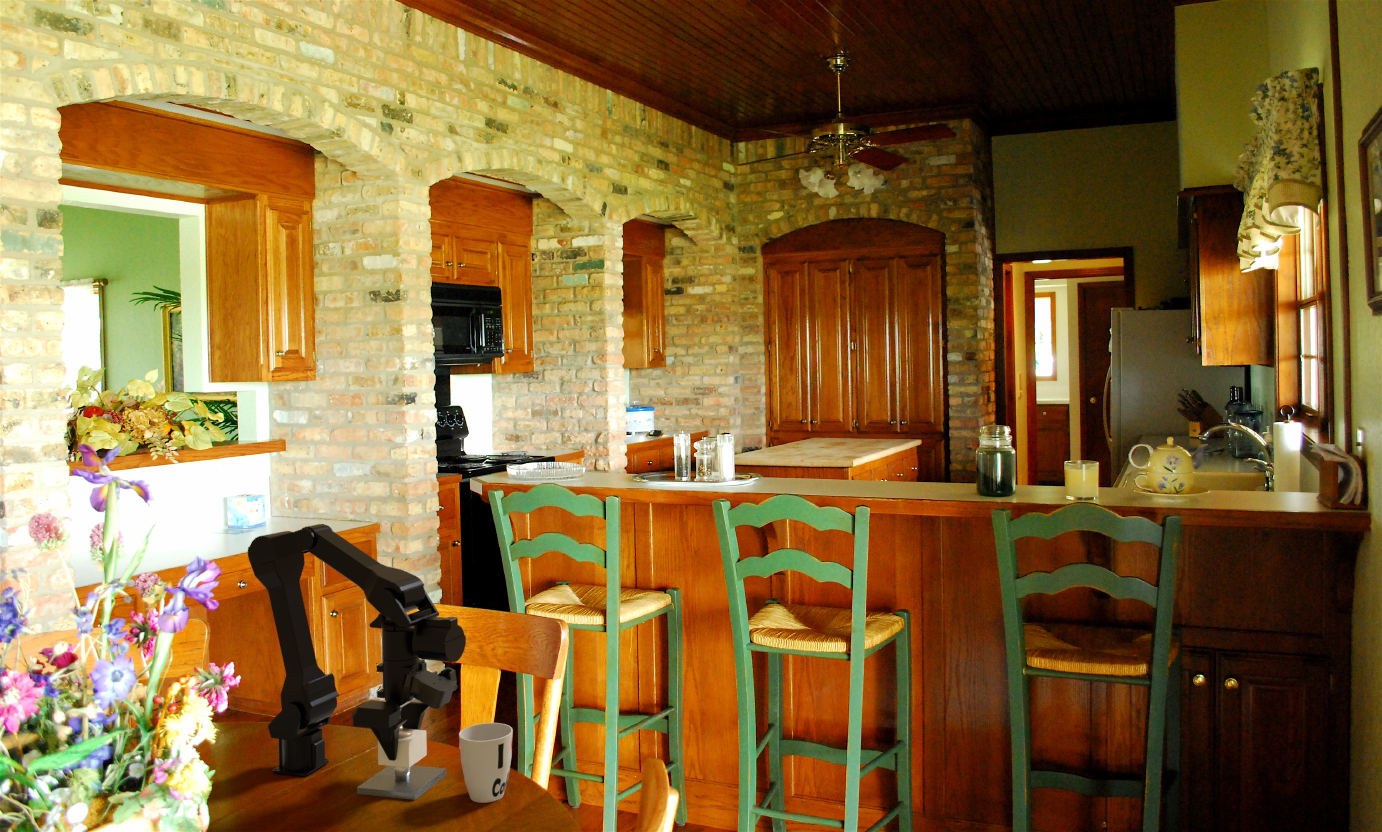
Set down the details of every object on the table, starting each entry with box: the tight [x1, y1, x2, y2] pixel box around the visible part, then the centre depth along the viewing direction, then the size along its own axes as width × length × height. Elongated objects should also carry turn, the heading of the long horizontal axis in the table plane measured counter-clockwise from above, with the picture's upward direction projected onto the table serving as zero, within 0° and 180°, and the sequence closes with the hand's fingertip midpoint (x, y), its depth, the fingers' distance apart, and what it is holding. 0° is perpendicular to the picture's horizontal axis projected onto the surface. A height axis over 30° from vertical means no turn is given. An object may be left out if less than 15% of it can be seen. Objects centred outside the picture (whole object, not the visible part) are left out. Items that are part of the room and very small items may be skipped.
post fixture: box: [356, 764, 448, 801], centre depth 156 cm, size 10×10×4 cm
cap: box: [377, 727, 428, 768], centre depth 156 cm, size 5×5×4 cm
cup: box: [458, 722, 514, 804], centre depth 151 cm, size 8×8×10 cm
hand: (402, 753), depth 156 cm, fingers closed on cap, 5 cm apart
